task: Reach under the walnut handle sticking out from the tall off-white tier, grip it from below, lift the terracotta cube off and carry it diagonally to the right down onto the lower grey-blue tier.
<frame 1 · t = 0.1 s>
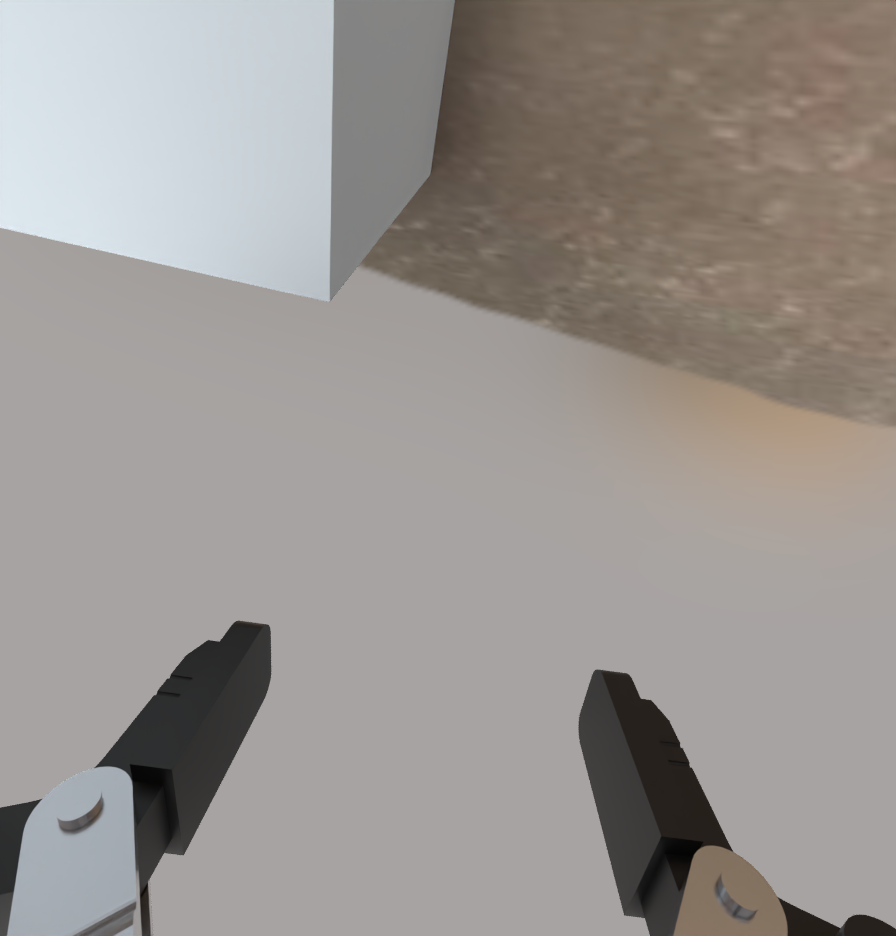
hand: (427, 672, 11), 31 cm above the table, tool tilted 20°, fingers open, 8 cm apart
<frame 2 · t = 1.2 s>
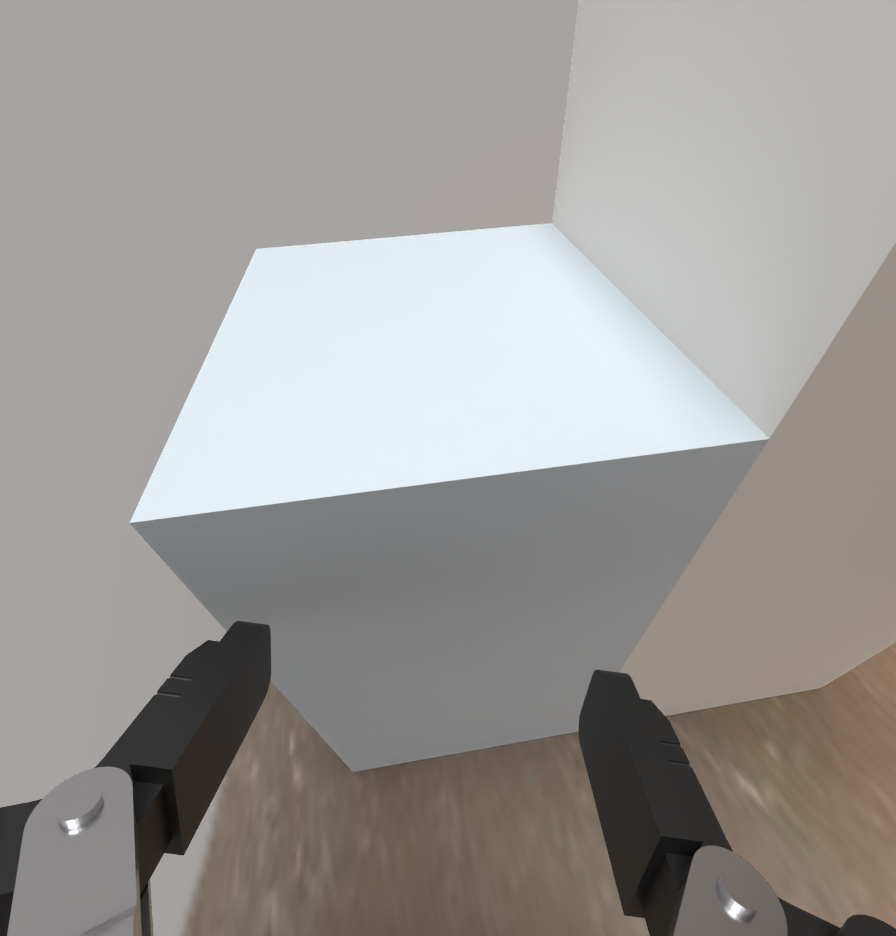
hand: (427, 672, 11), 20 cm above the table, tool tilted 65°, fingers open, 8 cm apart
riser: (645, 594, 33), on the table
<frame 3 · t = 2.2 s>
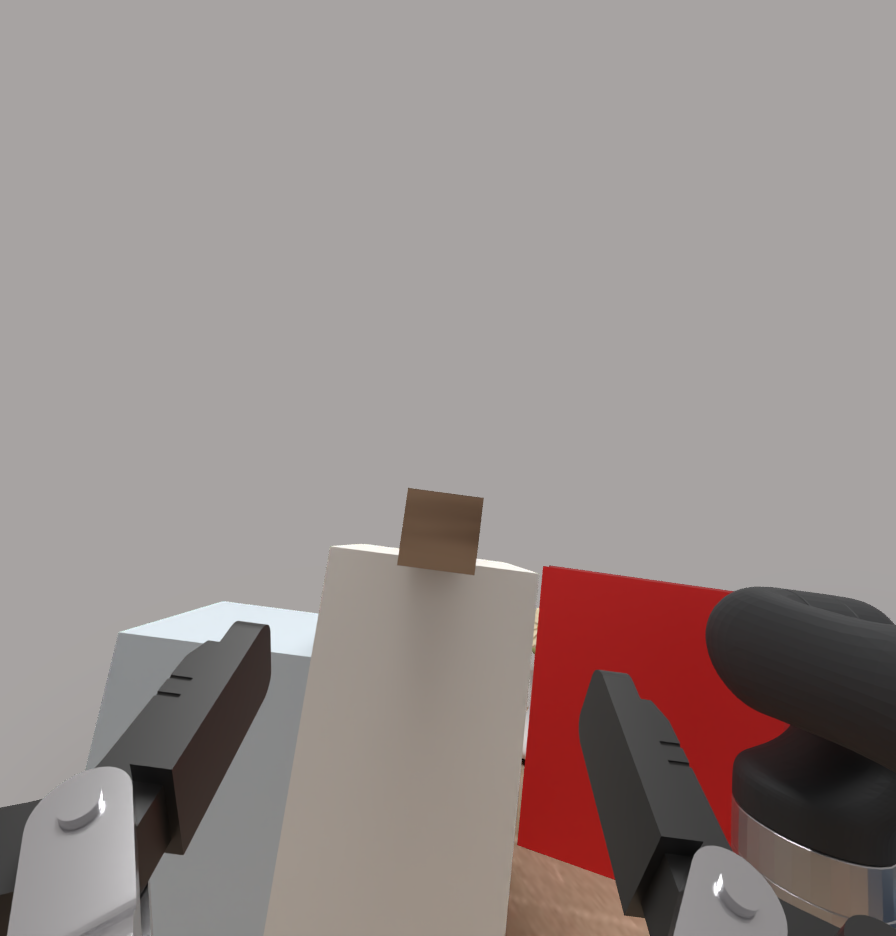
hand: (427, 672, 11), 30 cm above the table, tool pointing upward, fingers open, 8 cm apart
handled cube: (434, 554, 44), point 32 cm above the table, touching riser
book: (641, 868, 50), on the table
flower in vase: (533, 757, 74), on the table
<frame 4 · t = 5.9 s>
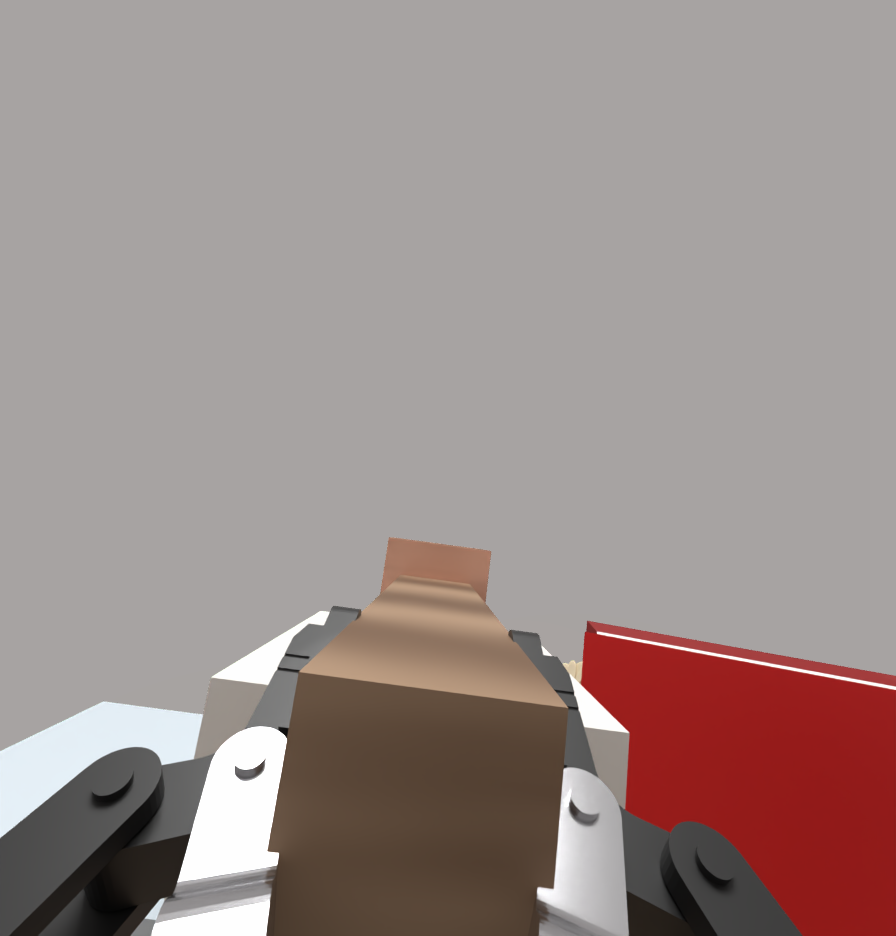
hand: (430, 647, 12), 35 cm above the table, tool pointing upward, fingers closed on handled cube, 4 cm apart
handled cube: (426, 640, 27), point 32 cm above the table, touching gripper, riser
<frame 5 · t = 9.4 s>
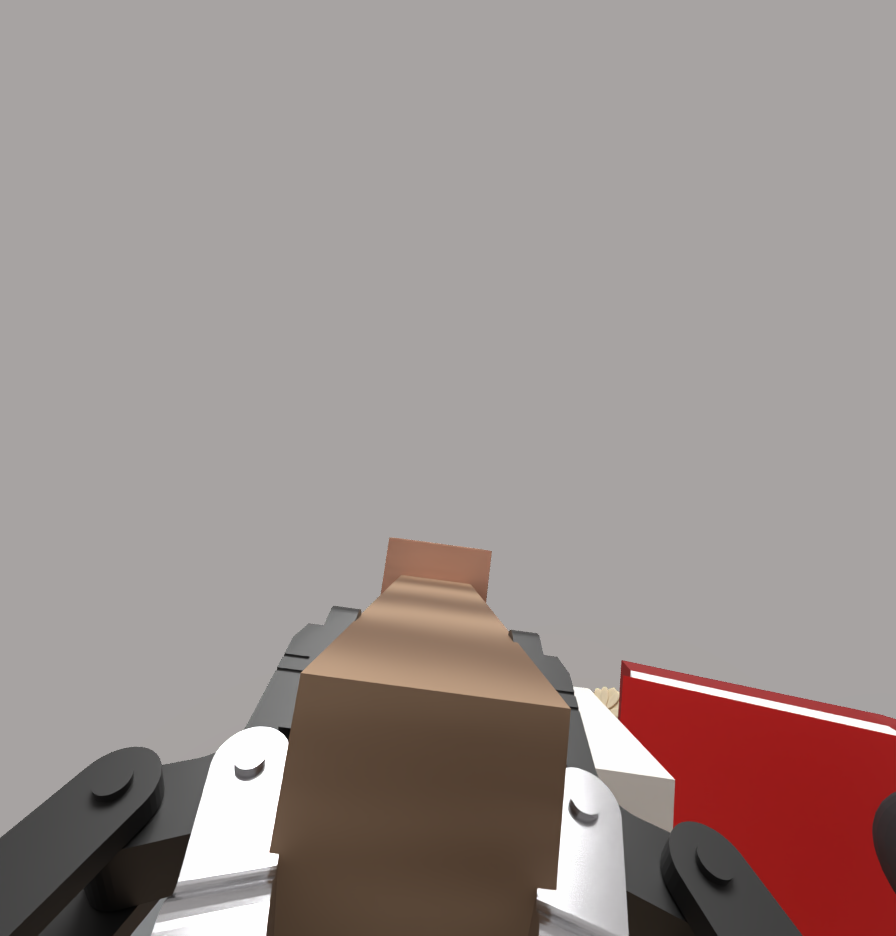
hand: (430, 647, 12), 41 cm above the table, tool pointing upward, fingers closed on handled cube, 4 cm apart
handled cube: (427, 640, 27), point 38 cm above the table, touching gripper
flower in vase: (595, 859, 66), on the table
when the fingers open (28 cm above the table, at t = 13.1 s): handled cube stays where it is, resting on riser.
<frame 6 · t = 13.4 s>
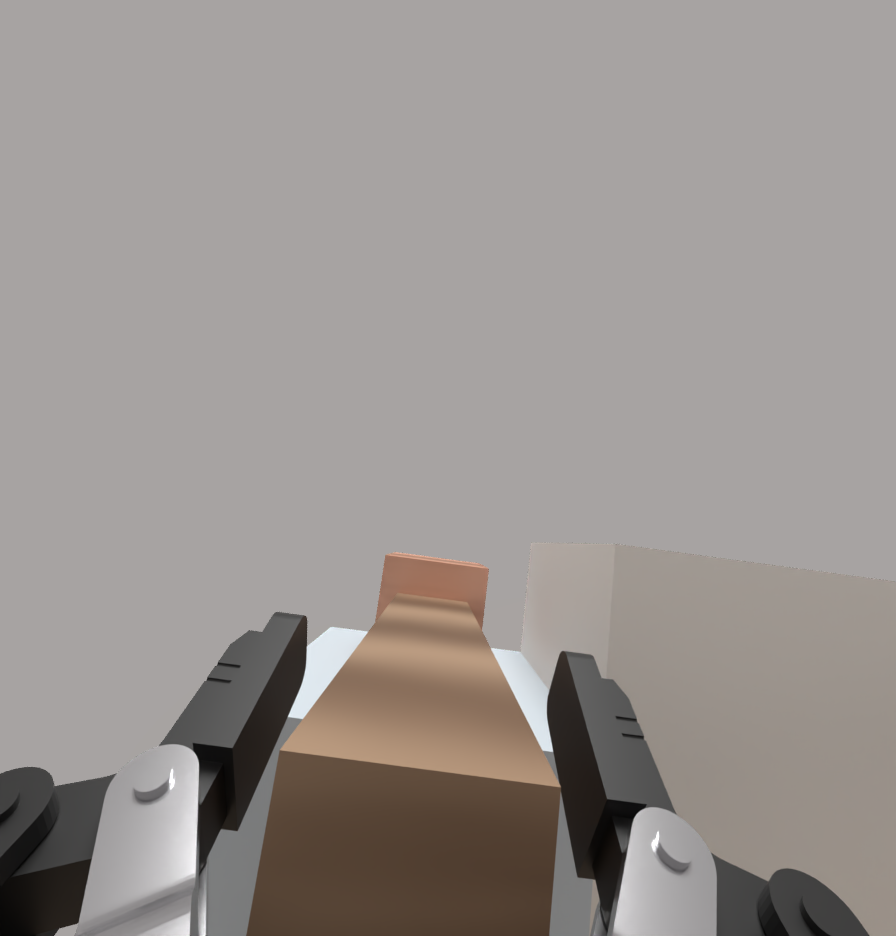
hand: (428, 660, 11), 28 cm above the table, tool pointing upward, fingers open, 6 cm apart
handled cube: (424, 657, 27), point 24 cm above the table, touching riser
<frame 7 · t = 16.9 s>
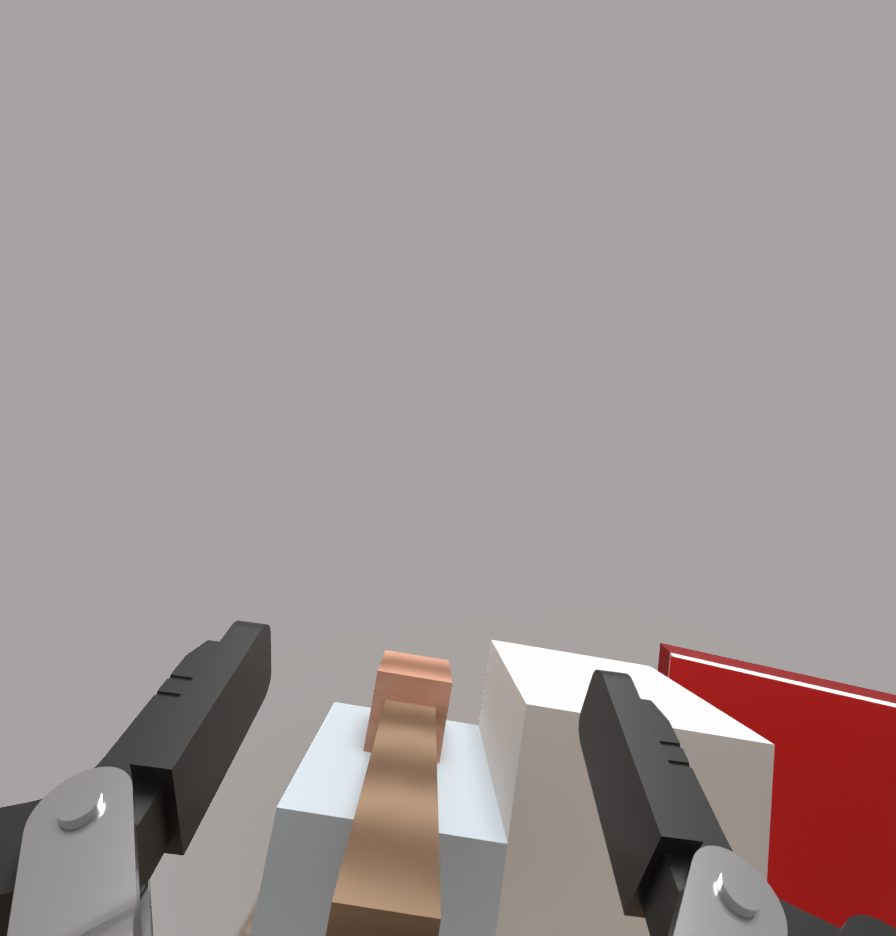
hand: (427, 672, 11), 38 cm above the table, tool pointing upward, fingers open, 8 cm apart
handled cube: (403, 739, 37), point 24 cm above the table, touching riser
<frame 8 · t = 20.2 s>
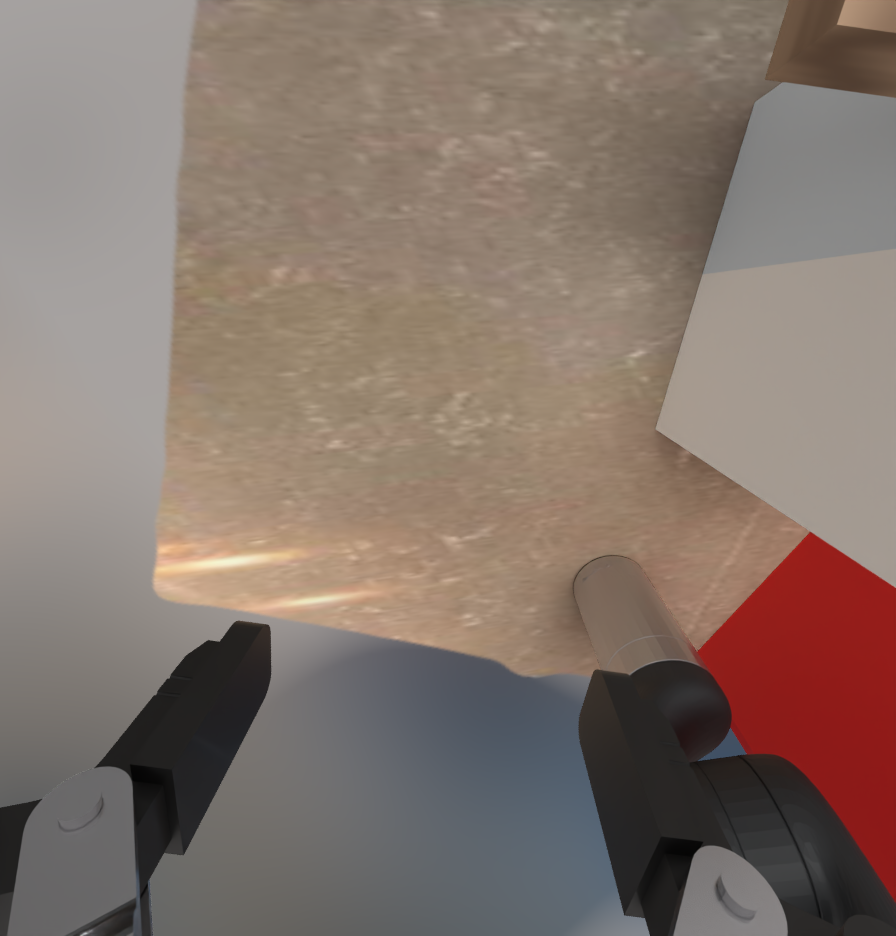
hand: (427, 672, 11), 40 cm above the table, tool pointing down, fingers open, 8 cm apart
book: (778, 602, 57), on the table
riser: (752, 366, 46), on the table
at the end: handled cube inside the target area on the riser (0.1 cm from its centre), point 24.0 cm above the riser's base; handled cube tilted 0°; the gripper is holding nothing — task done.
